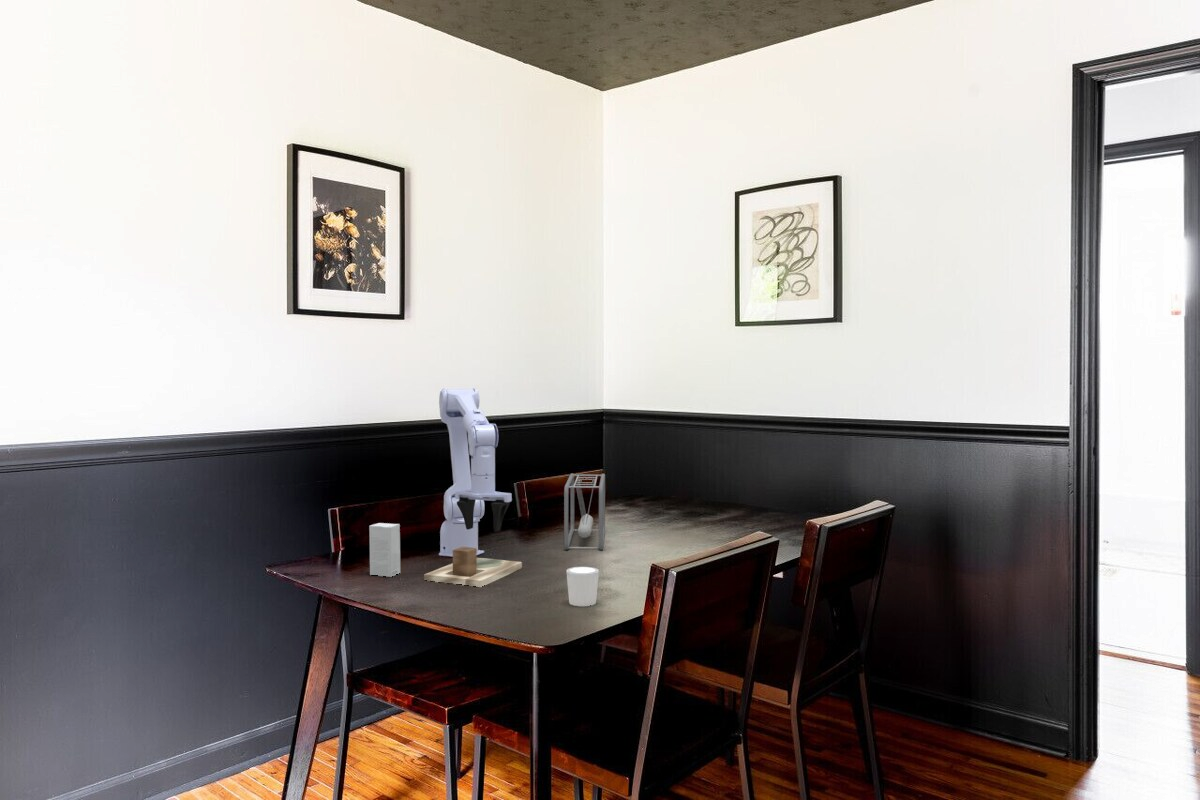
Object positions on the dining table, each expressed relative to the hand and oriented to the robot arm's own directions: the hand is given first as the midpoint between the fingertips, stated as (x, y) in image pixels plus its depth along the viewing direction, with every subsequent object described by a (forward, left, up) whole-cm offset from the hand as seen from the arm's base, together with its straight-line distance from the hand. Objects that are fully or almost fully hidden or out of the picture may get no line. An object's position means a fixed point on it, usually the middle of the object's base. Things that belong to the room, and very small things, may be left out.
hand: (483, 529), depth 207 cm
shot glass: (+33, -16, -10) cm, 39 cm away
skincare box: (-20, -12, -10) cm, 25 cm away
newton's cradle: (+8, +44, -10) cm, 46 cm away
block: (0, -8, -10) cm, 13 cm away
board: (0, -4, -10) cm, 11 cm away
